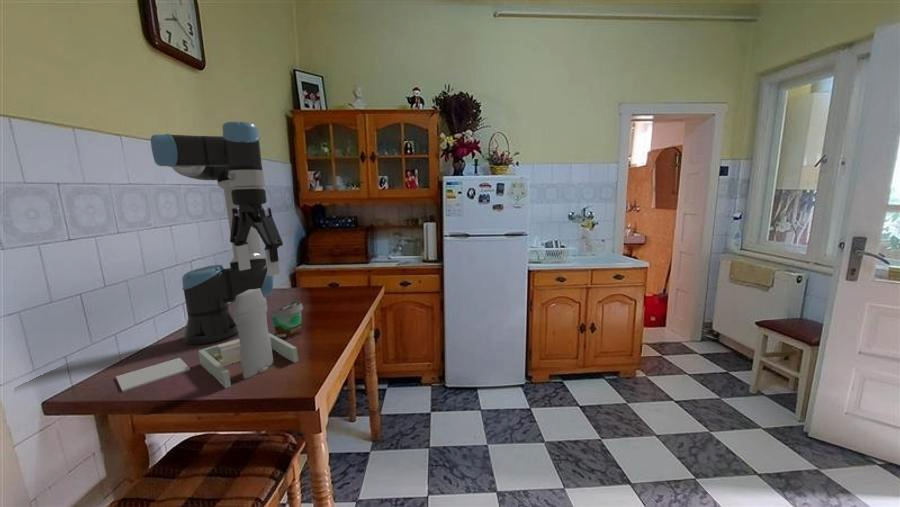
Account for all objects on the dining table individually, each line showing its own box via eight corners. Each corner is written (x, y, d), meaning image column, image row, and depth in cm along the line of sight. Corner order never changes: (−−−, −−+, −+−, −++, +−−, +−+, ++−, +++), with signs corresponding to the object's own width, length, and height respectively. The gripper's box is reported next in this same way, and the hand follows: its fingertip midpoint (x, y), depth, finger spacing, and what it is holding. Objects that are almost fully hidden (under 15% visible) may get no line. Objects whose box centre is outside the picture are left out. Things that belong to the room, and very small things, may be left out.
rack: (200, 364, 104) (198, 350, 103) (267, 342, 117) (265, 330, 117) (225, 388, 90) (223, 372, 89) (298, 361, 103) (296, 347, 102)
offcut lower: (214, 363, 105) (213, 355, 105) (259, 349, 114) (257, 341, 114) (221, 369, 101) (220, 361, 101) (266, 354, 110) (265, 346, 110)
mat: (116, 378, 98) (115, 376, 98) (180, 359, 108) (179, 357, 108) (122, 392, 90) (122, 390, 90) (190, 370, 100) (189, 368, 100)
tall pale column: (249, 380, 93) (237, 295, 90) (236, 378, 94) (224, 295, 91) (279, 361, 103) (270, 284, 100) (267, 360, 104) (257, 284, 101)
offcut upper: (219, 354, 106) (217, 345, 105) (260, 342, 113) (259, 334, 113) (223, 359, 102) (222, 350, 102) (265, 346, 109) (264, 338, 109)
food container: (291, 341, 117) (287, 311, 116) (274, 341, 119) (270, 311, 117) (312, 327, 129) (309, 300, 128) (297, 327, 130) (293, 299, 129)
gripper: (207, 190, 96) (219, 270, 99) (261, 187, 82) (272, 280, 86) (237, 189, 102) (247, 264, 105) (291, 186, 88) (301, 273, 92)
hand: (259, 272), depth 95 cm, fingers open, 13 cm apart
